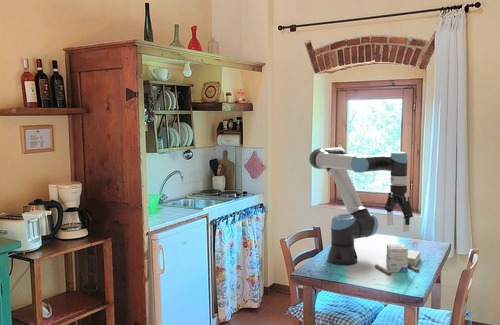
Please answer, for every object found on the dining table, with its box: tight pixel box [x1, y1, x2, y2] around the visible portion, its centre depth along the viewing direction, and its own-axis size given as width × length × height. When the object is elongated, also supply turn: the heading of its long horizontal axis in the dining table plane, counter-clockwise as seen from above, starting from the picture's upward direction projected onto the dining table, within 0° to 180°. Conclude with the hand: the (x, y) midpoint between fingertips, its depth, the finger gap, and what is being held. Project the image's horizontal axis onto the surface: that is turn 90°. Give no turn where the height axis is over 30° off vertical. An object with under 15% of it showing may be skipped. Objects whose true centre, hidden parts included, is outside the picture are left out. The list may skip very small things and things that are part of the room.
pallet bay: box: [374, 264, 420, 276], centre depth 224 cm, size 12×16×1 cm
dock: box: [385, 249, 421, 267], centre depth 237 cm, size 14×14×4 cm
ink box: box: [386, 243, 409, 273], centre depth 224 cm, size 9×8×12 cm
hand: (397, 228), depth 222 cm, fingers open, 13 cm apart
